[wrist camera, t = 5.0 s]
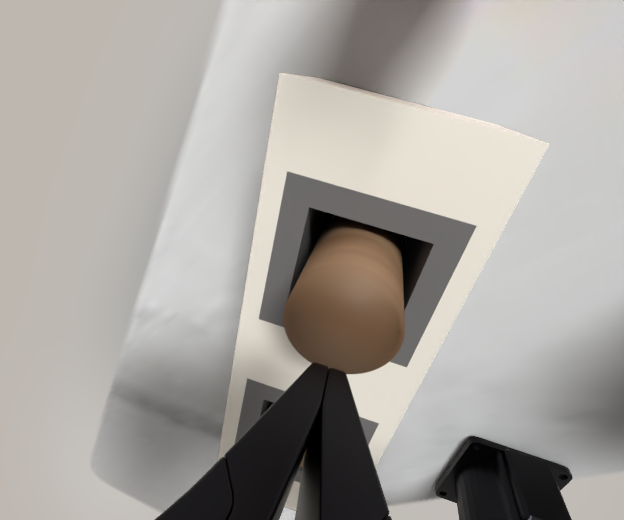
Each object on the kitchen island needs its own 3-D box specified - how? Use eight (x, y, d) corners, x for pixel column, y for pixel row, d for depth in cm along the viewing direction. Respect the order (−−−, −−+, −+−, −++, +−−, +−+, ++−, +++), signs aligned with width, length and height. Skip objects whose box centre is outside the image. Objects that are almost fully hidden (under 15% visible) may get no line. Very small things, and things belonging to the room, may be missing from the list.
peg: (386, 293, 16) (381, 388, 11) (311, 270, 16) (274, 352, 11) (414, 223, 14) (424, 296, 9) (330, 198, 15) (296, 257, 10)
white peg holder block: (353, 437, 25) (342, 528, 20) (250, 401, 26) (214, 480, 21) (495, 124, 15) (549, 143, 10) (318, 77, 16) (279, 72, 10)
